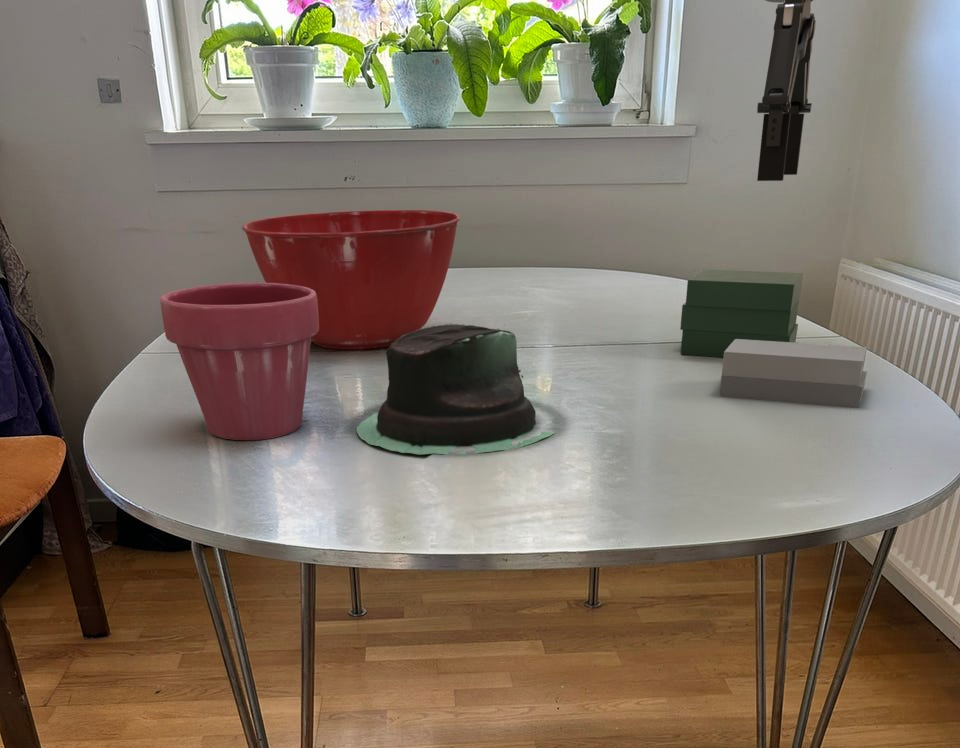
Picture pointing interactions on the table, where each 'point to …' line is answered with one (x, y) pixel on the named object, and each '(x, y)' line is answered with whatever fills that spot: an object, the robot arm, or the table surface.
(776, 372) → the grey pile
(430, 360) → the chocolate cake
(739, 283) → the green book
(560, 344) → the table surface
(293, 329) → the flower pot
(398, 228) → the mixing bowl
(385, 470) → the table surface
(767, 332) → the green pile
